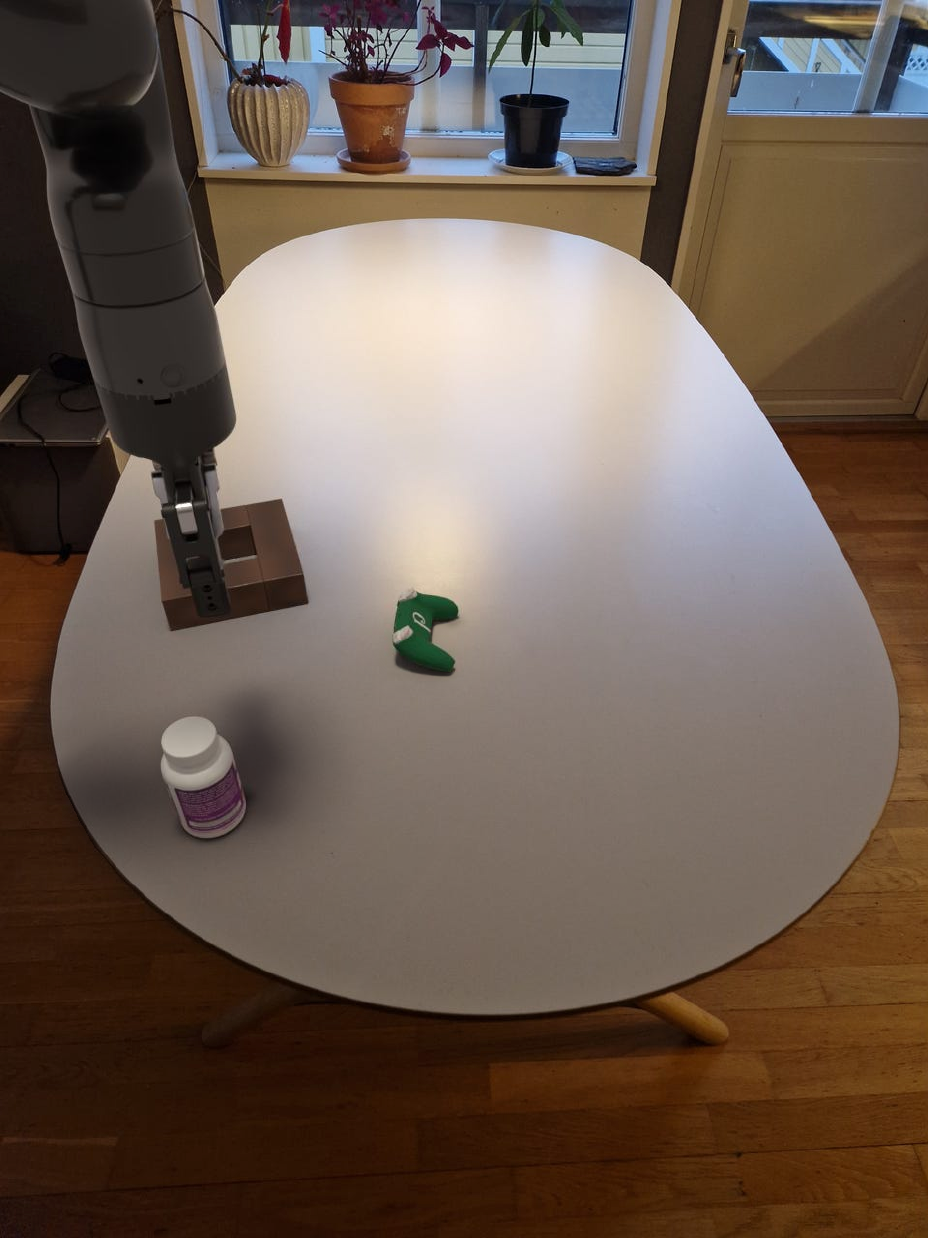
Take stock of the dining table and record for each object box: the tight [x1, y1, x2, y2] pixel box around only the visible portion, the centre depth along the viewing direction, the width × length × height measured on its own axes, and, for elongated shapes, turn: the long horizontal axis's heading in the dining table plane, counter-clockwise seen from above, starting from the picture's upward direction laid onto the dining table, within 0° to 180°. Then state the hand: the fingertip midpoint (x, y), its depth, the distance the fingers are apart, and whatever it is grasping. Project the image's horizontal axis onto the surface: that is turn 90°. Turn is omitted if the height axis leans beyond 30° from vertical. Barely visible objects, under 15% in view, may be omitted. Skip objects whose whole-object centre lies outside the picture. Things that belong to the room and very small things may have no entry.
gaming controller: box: [391, 587, 460, 673], centre depth 84 cm, size 9×4×6 cm
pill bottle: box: [160, 715, 247, 839], centre depth 67 cm, size 5×5×10 cm
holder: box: [153, 498, 309, 631], centre depth 91 cm, size 14×14×4 cm
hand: (211, 574), depth 61 cm, fingers open, 8 cm apart
